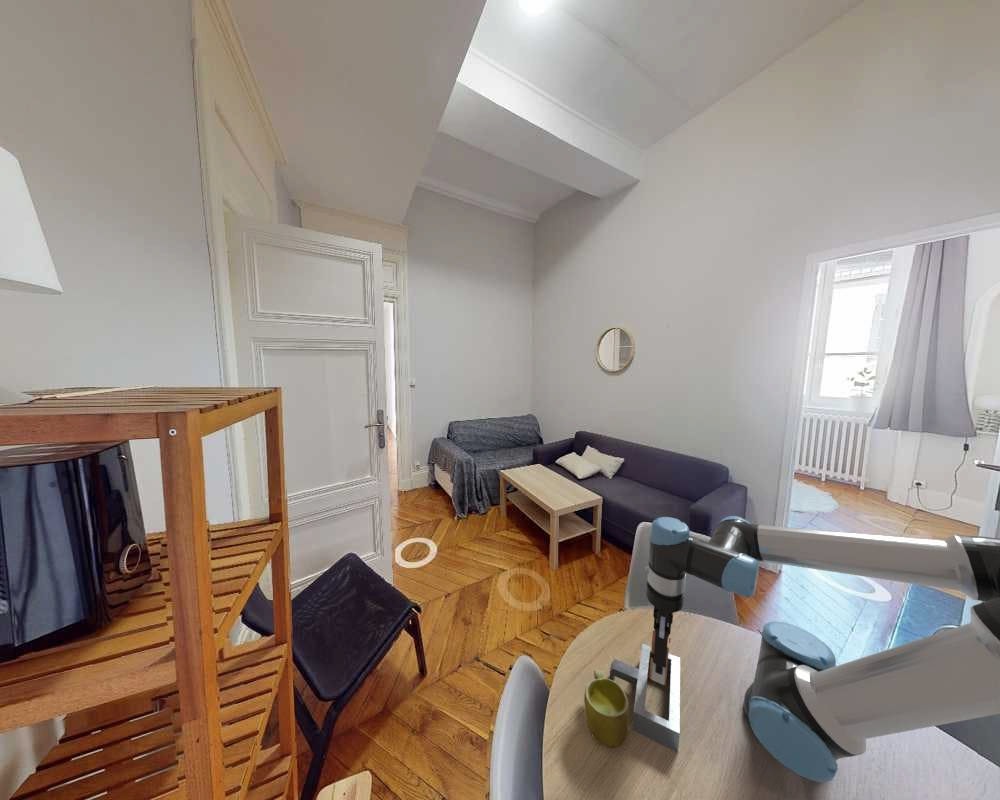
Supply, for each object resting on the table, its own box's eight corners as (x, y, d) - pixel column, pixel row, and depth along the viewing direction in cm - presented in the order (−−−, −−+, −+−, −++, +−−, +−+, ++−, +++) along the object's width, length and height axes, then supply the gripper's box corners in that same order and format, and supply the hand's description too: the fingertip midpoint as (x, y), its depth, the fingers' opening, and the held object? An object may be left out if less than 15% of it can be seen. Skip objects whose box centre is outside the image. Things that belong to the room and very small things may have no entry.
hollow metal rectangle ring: (678, 674, 86) (680, 657, 85) (678, 752, 70) (679, 733, 69) (616, 649, 93) (617, 633, 92) (602, 715, 77) (603, 697, 76)
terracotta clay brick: (650, 665, 81) (653, 630, 80) (666, 671, 80) (669, 636, 78) (649, 677, 78) (651, 641, 76) (665, 684, 77) (668, 647, 75)
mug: (641, 757, 67) (625, 705, 68) (591, 758, 70) (577, 709, 71) (633, 705, 79) (620, 662, 80) (591, 708, 82) (579, 666, 83)
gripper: (650, 559, 84) (644, 639, 88) (643, 604, 69) (637, 697, 73) (684, 568, 80) (676, 651, 84) (684, 618, 66) (675, 715, 70)
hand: (658, 672), depth 79 cm, fingers closed on terracotta clay brick, 3 cm apart
